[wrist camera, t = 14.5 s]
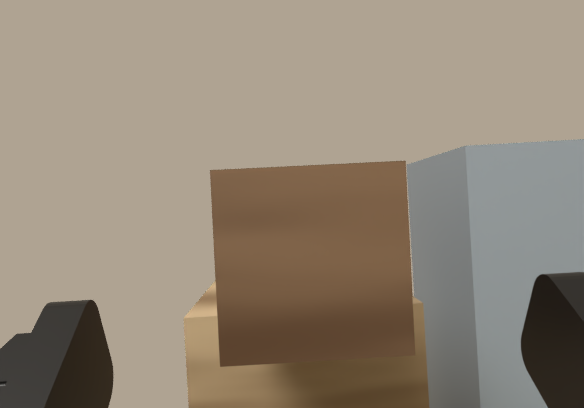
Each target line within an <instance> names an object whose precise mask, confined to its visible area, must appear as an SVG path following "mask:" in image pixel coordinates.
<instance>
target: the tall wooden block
mask: <svg viewBox="0 0 584 408" xmlns="http://www.w3.org/2000/svg"><path fill="white" fill-rule="evenodd" d="M412 298H413V317H414V337H415V356H399V357H382V358H365V359H348V360H330V361H313V362H296V363H279V364H261V365H244V366H227V367H220V358H219V338H218V318H217V298H216V280H215V282H214V283H213V284H212V285H211V286H210V287H209V289H208V290H207V291H206V292H205V293H204V295H203V296H202V297H201V298H200V299H199V301H198V302H197V303H196V304H195V305H194V307H193V308H192V309H191V310H190V311H189V312H188V314H187V315H186V316H185V317H184V332H185V349H186V367H187V384H188V402H189V408H429V392H428V375H427V358H426V341H425V324H424V307H423V303H422V302H421V301H419V300H418V299H416V298H415V297H413V296H412Z"/></svg>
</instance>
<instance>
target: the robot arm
mask: <svg viewBox="0 0 584 408" xmlns="http://www.w3.org/2000/svg"><path fill="white" fill-rule="evenodd" d="M521 353H522V358H523V362H524V365H525V367H526V370H527V372H528V373H529V375H530V377H531V379H532V381H533V382H534V384H535V386H536V388H537V389H538V391H539V393H540V395H541V396H542V398H543V400H544V402H545V403H546V405H547V407H548V408H584V272H570V273H553V274H541V275H539V276H538V277H537V278H536V280H535V282H534V285H533V289H532V293H531V298H530V302H529V306H528V310H527V314H526V318H525V322H524V327H523V331H522V335H521ZM112 388H113V366H112V361H111V356H110V353H109V349H108V345H107V341H106V338H105V334H104V330H103V326H102V323H101V318H100V314H99V311H98V307H97V305H96V303H95V302H94V301H93V300H82V301H66V302H51V303H48V304H47V305H46V306H45V307H44V309H43V311H42V312H41V314H40V316H39V318H38V320H37V322H36V324H35V326H34V329H33V330H32V332H31V333H24V334H16V335H15V336H14V337H13V338H12V339H11V340H9V341H8V342H7V343H6V344H5V345H4V346H3V347H2V348H1V349H0V408H108V406H109V402H110V399H111V395H112Z"/></svg>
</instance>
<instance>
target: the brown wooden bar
mask: <svg viewBox="0 0 584 408" xmlns="http://www.w3.org/2000/svg"><path fill="white" fill-rule="evenodd" d="M210 176H211V197H212V218H213V236H214V237H213V238H214V256H215V257H214V258H215V277H216V298H217V318H218V338H219V358H220V367H227V366H244V365H261V364H279V363H296V362H313V361H330V360H348V359H365V358H382V357H399V356H415V337H414V317H413V298H412V278H411V259H410V240H409V221H408V201H407V182H406V161H390V162H370V163H349V164H329V165H308V166H287V167H267V168H246V169H227V170H226V169H225V170H210Z"/></svg>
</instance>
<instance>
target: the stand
mask: <svg viewBox="0 0 584 408" xmlns="http://www.w3.org/2000/svg"><path fill="white" fill-rule="evenodd" d="M407 179H408V195H409V213H410V229H411V247H412V264H413V282H414V297H415V298H416V299H418V300H419V301H421V302H422V303H423V307H424V324H425V341H426V358H427V375H428V392H429V408H548V407H547V405H546V403H545V402H544V400H543V398H542V396H541V395H540V393H539V391H538V389H537V388H536V386H535V384H534V382H533V381H532V379H531V377H530V375H529V373H528V372H527V370H526V367H525V365H524V362H523V358H522V353H521V335H522V331H523V327H524V322H525V318H526V314H527V310H528V306H529V302H530V298H531V293H532V289H533V285H534V282H535V280H536V278H537V277H538V276H539V275H541V274H553V273H570V272H584V139H582V140H581V139H580V140H563V141H545V142H526V143H508V144H492V145H491V144H490V145H473V146H464V147H460V148H457V149H454V150H451V151H448V152H445V153H442V154H439V155H436V156H432V157H429V158H426V159H423V160H420V161H417V162H414V163H411V164H407Z"/></svg>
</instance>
